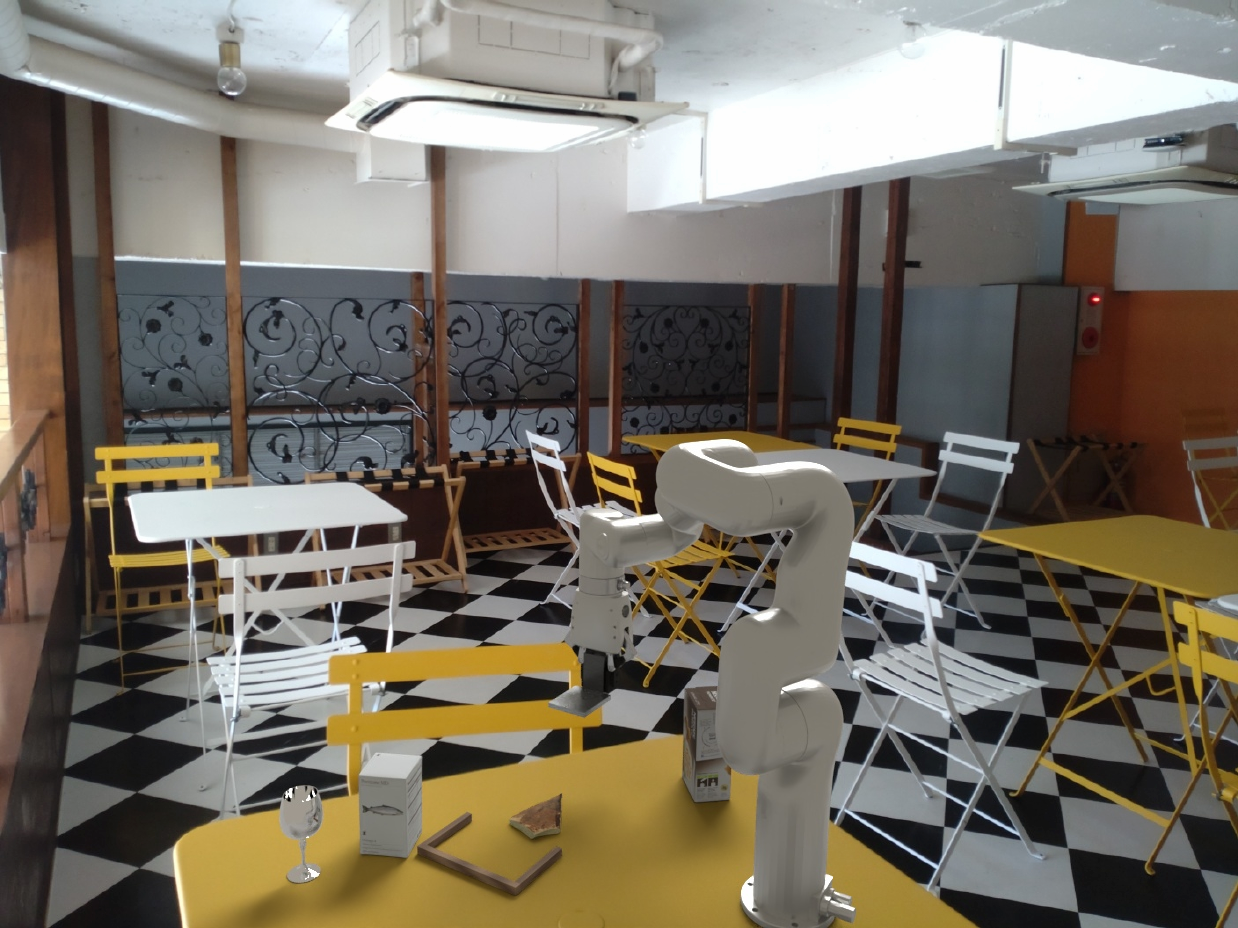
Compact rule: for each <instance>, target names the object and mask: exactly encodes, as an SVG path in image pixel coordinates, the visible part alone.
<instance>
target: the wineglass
mask: <svg viewBox="0 0 1238 928" xmlns="http://www.w3.org/2000/svg"><path fill="white" fill-rule="evenodd" d="M281 797H282V798H281V802H280V808H279V814H278V818H279V819H278V820H279V826H280V830H281V832H282V834H283V835H284V836H285V837H287V838H288V839H291V840H296V841H298V846H299V849H300V853H301V863H300V864H298V865H295V866H293V867H292V868H290V869H289V870H288V871H287V874H286V879H287V880H288V881H289V882H291V883H297V884H303V883H307V882H311V881H313V880H314V879H316V878H317V877H318V876H319V875H320V874H321V867H320V866H319V865H318V864H317V863H311V862H307V863H306V854H305V853H306V847H307V840H306V839H309V838H311V837H313V836H314V835H315V834H317V833H318V832H319V830H320V829H321V827H322V826H323V825H322V824H323V821H324V808H323V807H324V806H323V803H322V799H321V795H320V792H319V790H318V788H317V787H315V786H312V785H305V784H304V785H297V786H294V787H291V788H289V789H287V790H286V791H284V793H283V795H282V796H281Z"/></svg>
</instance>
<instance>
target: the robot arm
mask: <svg viewBox="0 0 1238 928" xmlns="http://www.w3.org/2000/svg"><path fill="white" fill-rule="evenodd" d="M655 471H656V472H655V481H656V486H657V487H656V490H655V494H654V503H655V507H656V511H657V513H653V514H645V515H639V516H633V517H628V518H626V517H625V515H624V514H623V512H621V511H620V510H617V509H612V508H604V507H603V508H602V507H601V508H600V507H599V508H598V507H597V508H591V509H587V510H585V511H583V512H582V514H581V515H580V519H579V541H578V543H579V548H578V549H579V551H578V552H579V553H578V554H579V555H578V558H579V559H578V563H579V564H578V587H577V588H576V589H575V593H574V597H573V602H572V606H571V617H570V630H569V631H568V633H567V634H566V636H565V637H564V643H565V644H566V645H568V646H569V647H570V649H572V651H573V653H574V654H575V656H576V657H577V663H579V664H580V679H581V683H580V684H581V686H580V687H583V655H584V652H586V651H587V650H589V649H592V650H596V651H600V652H604V653H606V657H607V664H608V670H606V672H605V692H606V693H608V694H609V695H610V694H611V693H612V692H613V690H614V691H615V690H616V689H617V688H619V683H620V668H621V667H622V666H623V665H624V664H625V663H626V662H629V661H631V660H633V659H635V658H637V657H638V654H639V653H638V651H637V649H636V648H635V647H636V646H635V645H634V627H633V624H634V623H633V611H632V605H631V604H632V603H631V599H630V594H629V592H628V590H629V589H630V588H631V582H630V581H627V580H626V575H625V568H628V567H629V568H630V567H635V566H637V565H638V566H639V565H643V564H648V563H652V562H660V561H664V560H667V559H670V558H673V557H675V556H676V555H678V554H680V553H681V552H683V551H685V550H686V549H687V548H689V547H691V546H692V545H693V544H695V543H696V542H697V541H698V540H699V538H700V537H701V535H702V533H703V529H704V525H707V526H710V527H712V528H713V529H716V530H717V531H718V532H719V531H720V532H721V533H724V534H726V535H730V536H733V537H739V538H740V537H741V538H743V537H747V538H748V537H753V536H754V537H755V536H760V535H764V534H770V533H776V532H780V531H786V530H790V529H791V530H792V532H793V534H792V537H791V539H790V540H789V542H788V544H787V545H786V547H785V549H784V551H783V553H782V554H781V557H780V559H779V563H778V566H777V569H776V570H777V571H776V578H775V579H776V580H775V581H776V582H775V591H774V597H773V602H772V603H771V606H770V607H769V608H767V609H764V610H761V611H756V612H754V613H751V614H747V615H744V616H743V617H740V618H738V619H737V620H735V621H734V622H733V624H731V625H730V627H729V628H728V629H727V631H726V632H725V635H724V637H723V639H722V643H721V646H720V653H719V662H718V675H717V686H718V688H717V702H716V718H715V729H716V739H717V743H718V747H719V750H720V753H721V755H722V757H723V759H724V760H725V762H726V763H727V764H728V765H729V767H730V768H731V770H733V771H734V772H735V773H738V774H739V775H745V776H757V775H758V778H757V791H756V792H757V793H756V810H755V811H756V812H755V832H754V833H755V834H754V852H753V854H754V856H753V875H752V876H751V877H750V878H748V879H747V880H745V882H744V884H743V885H742V888H741V891H740V904H741V905H740V906H741V908H742V909H743V911H744V913H745V915H747V917H748V918H749V919H750V920H752V922H754V923H755V924H757V925H758V926H759V927H762V928H828V927H829V926H831V924H832V923H833V922H834V919H835V918H837V919H838V920H842V921H845V922H847V923H850V924H851V925H852V924H853V923H854V922H855V918H856V915H857V908H856V907H855V906H852V903H853V897H852V896H851V895H848V894H845V893H841V892H839V891H838V892H837V891H836V888H833V876H832V875H829V874H827V865H828V846H829V830H830V829H829V828H830V814H831V801H832V788H833V776H834V772H835V771H834V770H835V766H836V765H835V763H836V760H837V756H838V755H837V754H838V752H839V748H840V744H841V740H842V736H843V731H844V730H843V729H844V714H843V713H844V712H843V709H842V708H843V707H842V705H841V702H840V700H839V698H838V696H837V695H836V693H835V691H833V689H832V688H831V687H830V686H828V685H827V684H825V683H824V682H822V681H820V680H817V679H814V678H815V677H817V676H821V675H822V674H824V673H826V672H828V671H829V670H831V669H832V668H833V666H834V665H835V664H836V662H837V658H838V654H839V651H840V649H839V648H840V641H841V634H842V633H841V631H842V620H843V611H844V603H845V602H844V601H845V589H846V580H847V579H846V578H847V572H848V565H849V560H850V555H851V551H852V546H853V540H854V533H855V511H854V505H853V502H852V498H851V495H850V493H849V491H848V488H847V487H846V485H845V484H844V483H843V481H842V480H841V478H840V477H839V476H838V474H836V473H835V472H834V471H833V470H831V469H829V468H828V467H826V466H824V465H822V464H819V463H815V462H810V461H786V462H778V463H777V462H776V463H769V464H765V465H763V464H762V465H759V462H758V458H757V456H756V454H755V453H754V451H753V450H752V449H751V448H750V447H749V446H748V445H746V444H744V443H742V442H740V441H738V440H735V439H734V440H733V439H725V438H723V439H711V440H702V441H691V442H683V443H679V444H675V445H674V446H673V445H672V447H670V448H669V449H667V450H666V451H665V452H664V453H663V455H662V456H661V457H660V459H659V460H658V464H657V466H656V470H655ZM622 648H623V650H624V652H625V653H624V654H622ZM610 692H611V693H610Z"/></svg>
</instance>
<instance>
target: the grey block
mask: <svg viewBox="0 0 1238 928" xmlns="http://www.w3.org/2000/svg"><path fill="white" fill-rule="evenodd" d="M606 670H608V664H607V657H606V653H604V652H600V651H596V650H592V649H589V650H587V651H586V652H584V655H583V686H579V685H574V686H572V687H571V688H570V689H568V690H566V691H565V692H563V693H562V694H560V695H558V696H556V698H553V699H552V700H550V701H549V702H547V703H548V704H547V705H548V708H550V709H553V710H556V711H561V712H563V713H567V714H570V715H574V716H577V717H581V718H584V719H585V718H586V717H587V716H589V715H591V714H592V713H594V712H595V711H596V710H598V709H600V708H601V707H602V706H604V705H605V704H607V703H608V702H610V701H611V699H612V694H611V693H612V692H613V691H615V690H613V691H612V692H610V693H609V694H608V693H606V692H605V672H606Z"/></svg>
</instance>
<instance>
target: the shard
mask: <svg viewBox="0 0 1238 928" xmlns="http://www.w3.org/2000/svg"><path fill="white" fill-rule="evenodd" d="M562 798H563V793H559V794H558V795H556V796H553V797H551V798H550V799H548V800H545V801H542V802H540V803H539V802H538V803H536V804H535V805H532V806H530V807H528V808H526V809H523V810H522V811H519V812H518V813H517V814H514V815H512V816H511V818H510V819H509V820H508V821H509V825H511V826H513V827H514V828H515V829H517V830H519V831H521V832H522V833H523V834H524V835H525V836H527V837H529V839H530V840H531V839H532V840H533V839H536V838H537V837H541V836H542V837H543V836H546V835H547V836H548V835H555V834H556V835H557V834H560V832H561V831H562V827H561V826H562V812H563V809H562V808H563V805H562Z"/></svg>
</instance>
